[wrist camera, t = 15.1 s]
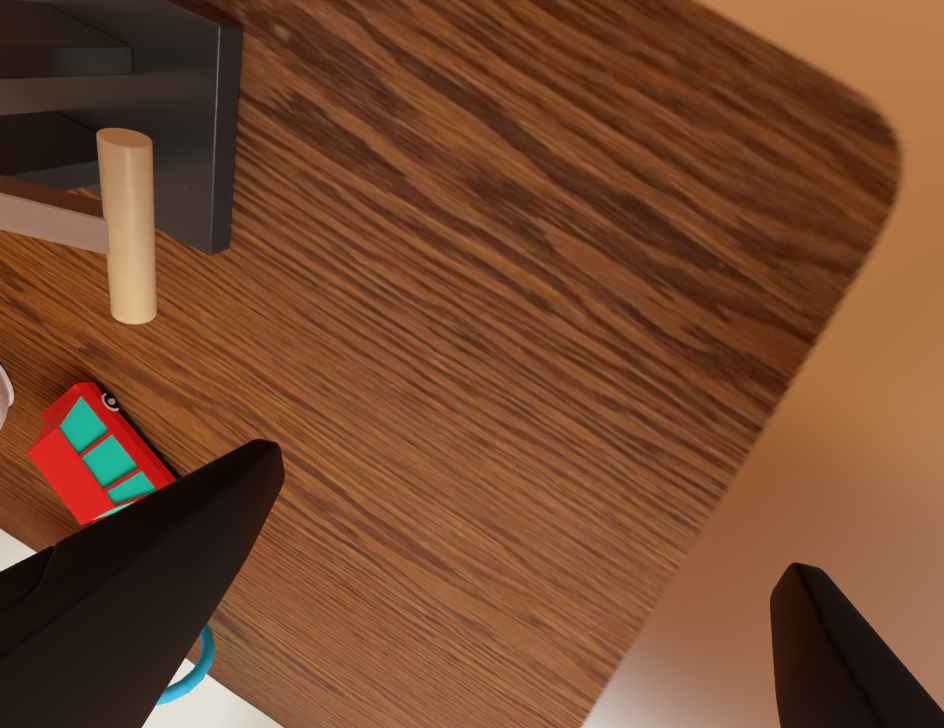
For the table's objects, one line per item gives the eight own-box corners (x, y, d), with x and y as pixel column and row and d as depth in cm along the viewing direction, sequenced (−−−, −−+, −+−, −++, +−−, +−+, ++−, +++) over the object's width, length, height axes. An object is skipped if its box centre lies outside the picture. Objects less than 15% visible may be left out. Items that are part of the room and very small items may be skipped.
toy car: (176, 538, 39) (127, 581, 36) (59, 405, 37) (-5, 440, 33) (222, 520, 36) (173, 567, 33) (97, 372, 33) (29, 407, 30)
